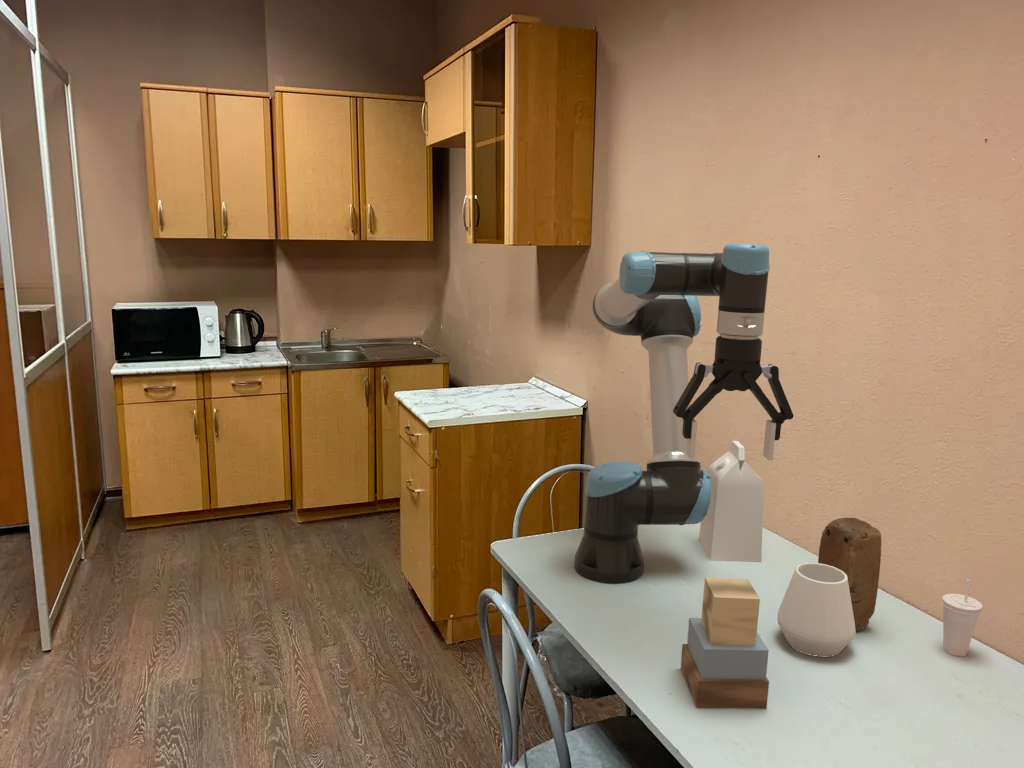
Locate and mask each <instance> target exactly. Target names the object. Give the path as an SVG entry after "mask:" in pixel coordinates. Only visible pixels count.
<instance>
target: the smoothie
mask: <svg viewBox="0 0 1024 768" xmlns="http://www.w3.org/2000/svg"><path fill="white" fill-rule="evenodd" d="M970 585H971V579H968V578H967V579H966V584H965V590H964V591H965V592H964V594H958V593H947V594H944V595H942V598H941V601H940V602H941V604H942V612H943V614H942V621H943V623H942V625H943V627H942V629H943V630H942V631H943V632H942V634H943V635H942V639H943V643H942V644H943V651H944V652H945V653H947V654H949V655H951V656H955V657H961V658H962V657H966V656H967V654H968V651H969V649H970V645H971V642H972V640H973V639H972V638H973V635H974V632H975V629H976V626H977V623H978V620H979V616H980V614H982V613H983V607H984V606H983V604H982V602H980V601H979V600H977V599H975V598H973V597H972V596H969V593H970V587H971V586H970Z"/></svg>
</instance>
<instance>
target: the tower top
mask: <svg viewBox="0 0 1024 768" xmlns="http://www.w3.org/2000/svg"><path fill="white" fill-rule="evenodd" d="M701 619H702V617H689V618H688V627H687V628H688V629H687V643H686V644H687V646H688V648H689V650H690V653H691V655H692V657H693V659H694V662H695V664H696V666H697V668H698V671H699V673H700V675H701V677H702V679H755V680H766V677H767V672H768V660H769V651H770V650H769V649H768V647H767V645H766V644H765V642H764V641H763V639H762V637H761V636H760V634H759V633H758V632H757V635H756V645H755V646H737V645H713V644H710V642H709V640H708V638H707V635H706V633H705V630H704V628H703V625H702V623H701Z"/></svg>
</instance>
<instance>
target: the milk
mask: <svg viewBox="0 0 1024 768" xmlns="http://www.w3.org/2000/svg"><path fill="white" fill-rule="evenodd" d="M745 456H746V455H745V447H744V445H743V444H742V443H740V442H739V441H738V440H731V442H730V446H729V450H727V452H725V453H724V454H723V455H721V456H720V457H719V458H718V459H716V460H714V462H712V463H711V464H710V465H709V466H708V468H707V471H706V472H708V473H709V475H710V480H711V485H712V493H711V501H710V506H709V510H708V512H707V515H706V517H705V518H704V519H703V520H702V521H701V522H700V528H699V535H698V536H699V537H698V541H699V543H700V544H701V547H702V548H703V550H704V552H705V554H706V555H707V557H708V558H709V560H710V561H713V562H746V563H747V562H748V563H762V553H763V552H762V551H763V550H762V549H763V525H764V524H763V523H764V503H765V502H764V499H765V485H764V481H763V479H762V477H760V476H759V475H758V474H757V473H756V472H755V471H754V469H753V468H752V467H751V466H750V465H749V463H747V462H746V459H745Z"/></svg>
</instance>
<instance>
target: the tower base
mask: <svg viewBox="0 0 1024 768" xmlns="http://www.w3.org/2000/svg"><path fill="white" fill-rule="evenodd" d="M680 657H681V658H680V659H681V660H680V671H681V674H682V676H683V678H684V680H685V681H684V682H685V683H686V685H687V688H688V690H689V692H690V695H691V698H692V701H693V702H694V705H695V707H696V708H697V709H700V708H701V709H702V708H703V709H705V708H706V709H761V710H762V709H763V710H765V709H766V710H767V708H768V697H769V687H770V686H769V685H770V681H769V679H768V677H767V676H766V680H755V679H702V677H701V675H700V673H699V671H698V668H697V666H696V664H695V662H694V659H693V657H692V655H691V653H690V650H689V648H688V646H687V643H682V645H681V656H680Z"/></svg>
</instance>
